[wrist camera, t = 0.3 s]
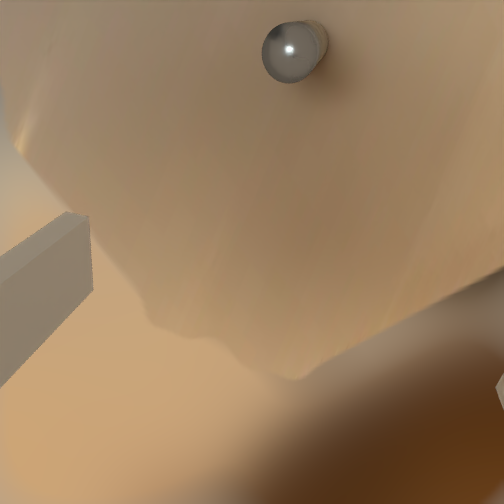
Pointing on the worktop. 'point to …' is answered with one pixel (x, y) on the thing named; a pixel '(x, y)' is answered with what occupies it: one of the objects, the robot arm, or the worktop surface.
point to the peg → (294, 50)
